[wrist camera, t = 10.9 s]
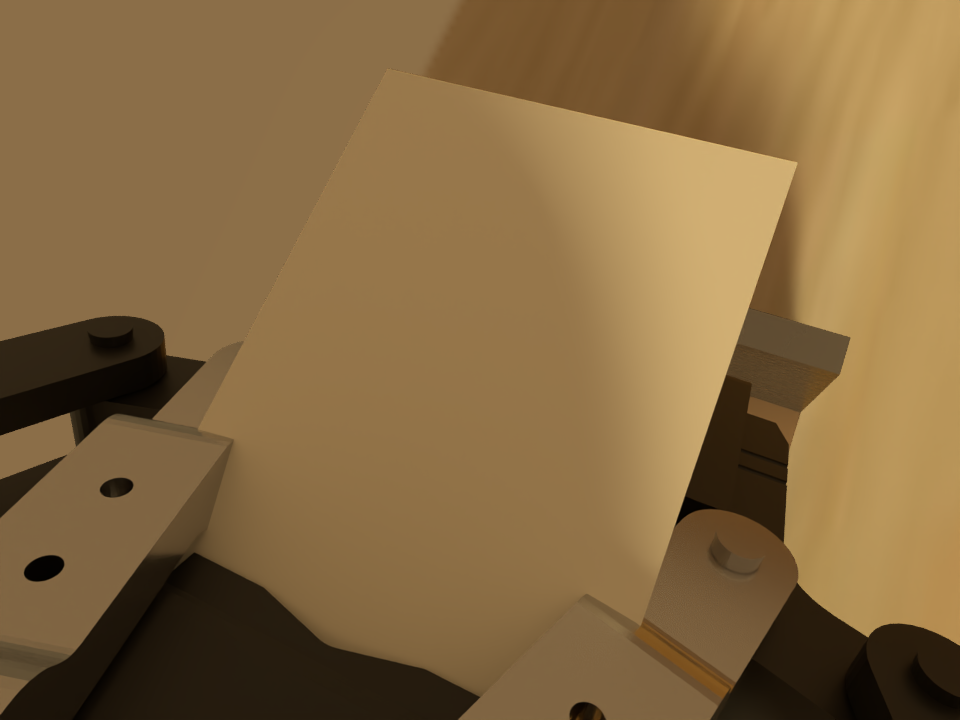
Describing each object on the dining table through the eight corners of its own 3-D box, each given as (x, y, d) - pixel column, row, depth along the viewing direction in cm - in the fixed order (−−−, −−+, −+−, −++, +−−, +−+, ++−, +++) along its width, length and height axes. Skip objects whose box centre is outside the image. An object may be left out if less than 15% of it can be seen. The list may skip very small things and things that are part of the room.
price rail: (469, 268, 19) (443, 211, 16) (811, 373, 16) (853, 328, 13) (454, 300, 18) (426, 248, 16) (800, 412, 16) (839, 374, 13)
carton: (594, 685, 13) (566, 845, 5) (398, 591, 15) (112, 592, 6) (694, 398, 15) (803, 145, 6) (508, 335, 16) (394, 53, 8)
